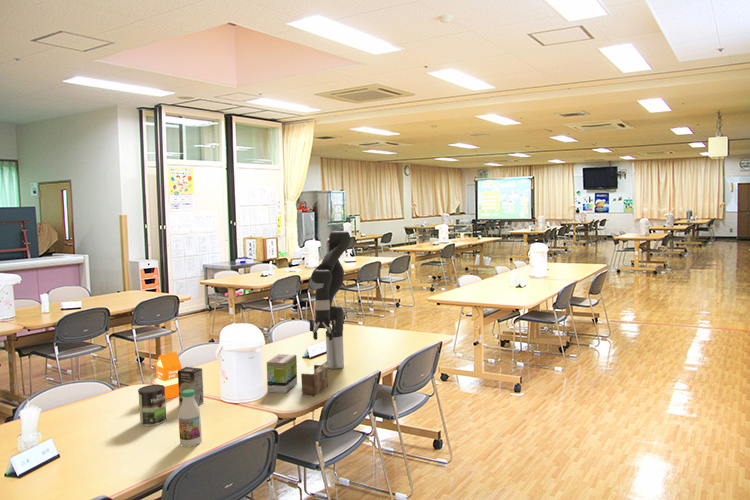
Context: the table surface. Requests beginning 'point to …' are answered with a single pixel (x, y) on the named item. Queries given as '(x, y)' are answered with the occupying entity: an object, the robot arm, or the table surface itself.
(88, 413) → the table surface
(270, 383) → the tea box
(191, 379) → the coffee box
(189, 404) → the milk bottle
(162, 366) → the orange juice
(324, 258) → the robot arm
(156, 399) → the coffee can
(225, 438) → the table surface
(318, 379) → the display stand
